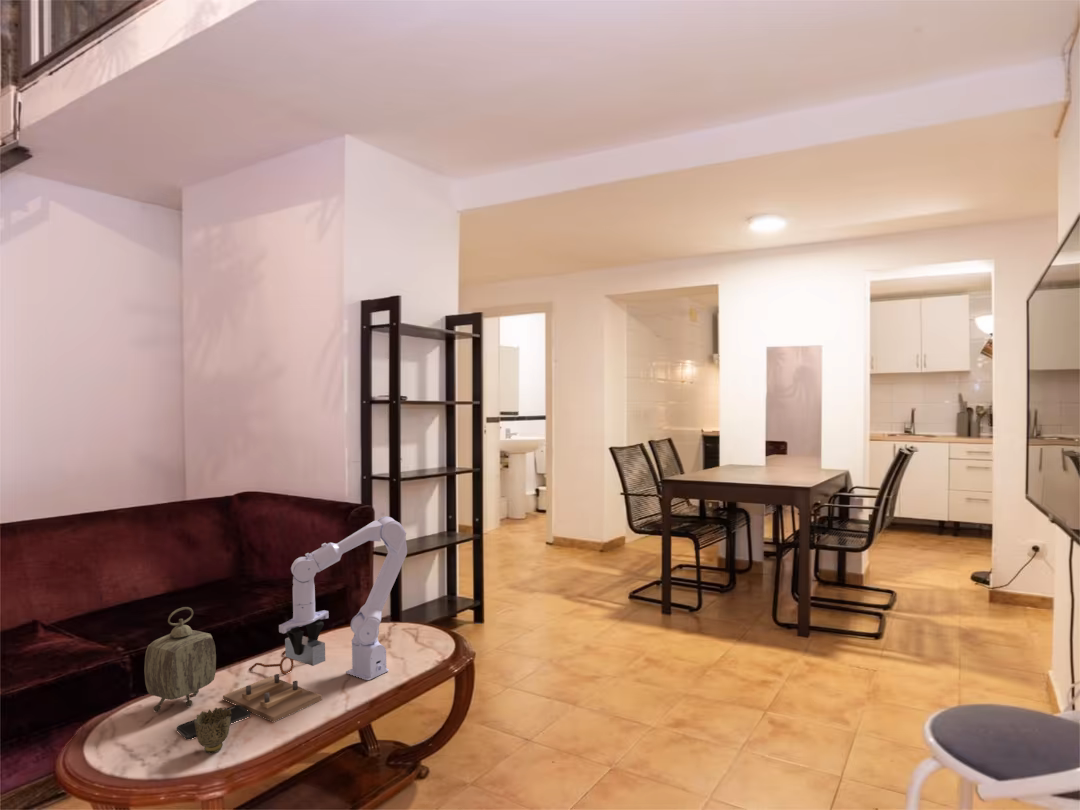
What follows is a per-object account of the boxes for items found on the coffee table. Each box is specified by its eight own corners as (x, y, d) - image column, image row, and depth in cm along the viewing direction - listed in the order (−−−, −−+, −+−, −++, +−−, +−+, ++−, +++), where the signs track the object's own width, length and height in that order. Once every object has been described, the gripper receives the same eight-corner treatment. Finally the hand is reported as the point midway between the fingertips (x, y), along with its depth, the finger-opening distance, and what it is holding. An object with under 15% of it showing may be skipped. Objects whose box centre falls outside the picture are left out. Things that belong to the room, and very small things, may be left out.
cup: (203, 742, 152) (202, 707, 152) (236, 740, 153) (236, 706, 153) (189, 760, 145) (188, 723, 144) (224, 758, 145) (223, 721, 145)
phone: (174, 726, 158) (238, 704, 169) (175, 731, 158) (238, 708, 169) (187, 737, 153) (252, 713, 164) (187, 742, 153) (252, 718, 164)
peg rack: (321, 699, 173) (321, 683, 172) (273, 722, 161) (273, 705, 161) (271, 680, 185) (270, 665, 185) (223, 700, 173) (222, 684, 173)
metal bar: (325, 660, 181) (324, 642, 181) (312, 666, 177) (312, 647, 177) (297, 651, 188) (297, 634, 187) (285, 656, 184) (285, 638, 184)
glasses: (282, 677, 188) (281, 660, 188) (248, 670, 193) (248, 653, 193) (315, 660, 200) (315, 644, 200) (283, 654, 205) (282, 638, 205)
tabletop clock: (197, 690, 179) (195, 598, 179) (220, 696, 176) (218, 602, 175) (145, 713, 166) (142, 614, 166) (168, 721, 163) (166, 619, 162)
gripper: (317, 593, 191) (318, 640, 191) (271, 606, 179) (272, 657, 179) (333, 596, 187) (334, 645, 187) (287, 611, 175) (288, 662, 175)
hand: (305, 651), depth 182 cm, fingers closed on metal bar, 4 cm apart
